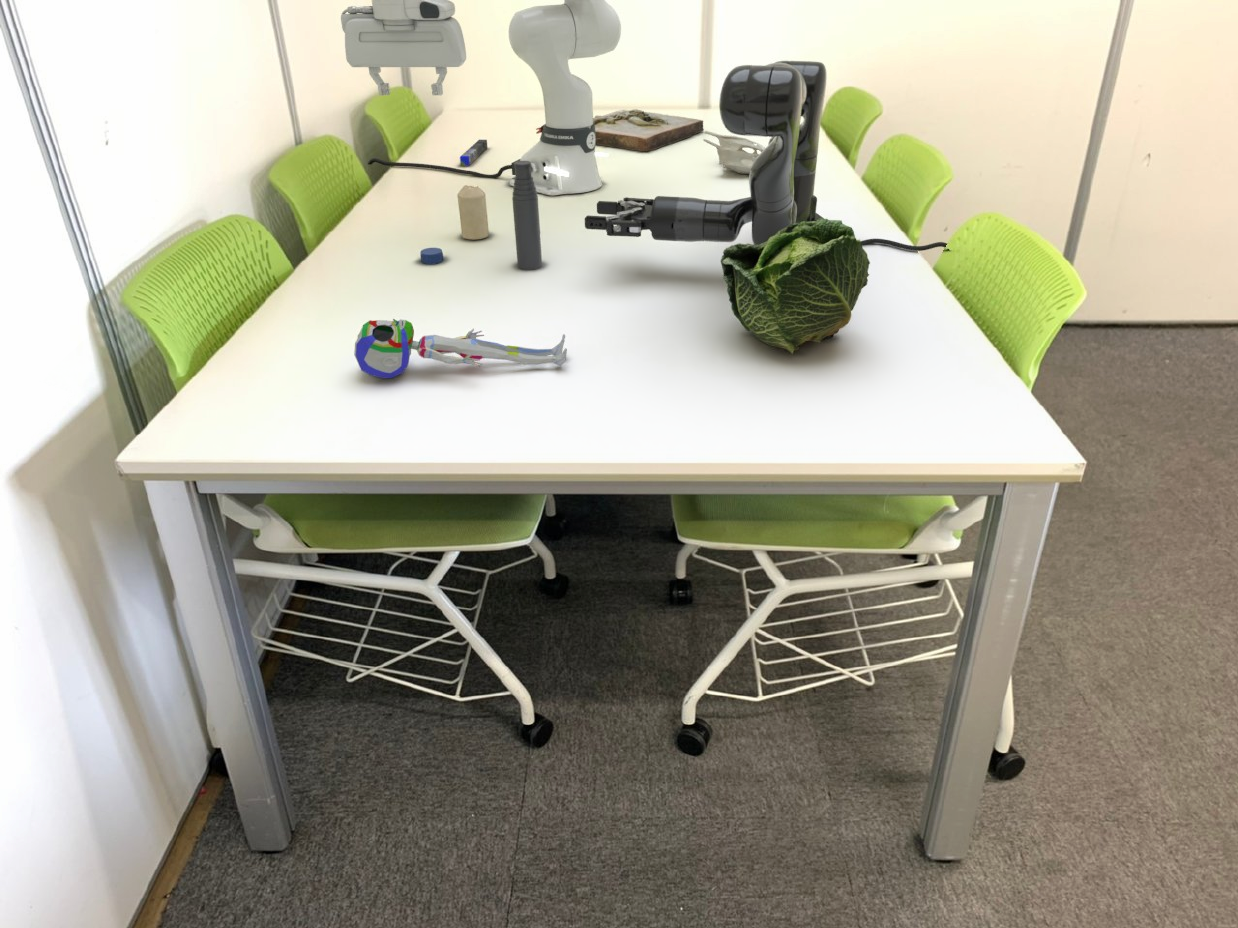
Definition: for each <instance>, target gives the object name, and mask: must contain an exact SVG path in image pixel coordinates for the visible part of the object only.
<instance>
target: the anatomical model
mask: <svg viewBox="0 0 1238 928" xmlns="http://www.w3.org/2000/svg"><path fill="white" fill-rule="evenodd" d="M704 135H708V136H712V137H714V138H717V140H718V143H719V144H717V143H714V142H713V141H710V140H709V139H706V138H703V142H705V143H707V144H709V145H710V146H712V147H715V148H716V151H717V155H718V165H722V166H723V167H724V169H726V170H727V171H731V170H732V171H734V172H736V173H738V174H743V175H744V174H745V175H748V174H750V170H751V167H752V165H753V163H754V161H755V160H756V158H757V157H758V156H759V155H760V153H761V152H762V151H763V150H764V149H765V148H766V147H764V145H762V144H760V143H758V142H756V141H753V140H750V139H748V138H744V137H741V136H737V135H726V134H719V133H716V132H712V131H708V130H705V131H704ZM744 149H752V150H753V152H752V153H750V152H748V151H746V150H744ZM758 151H760V153H758Z"/></svg>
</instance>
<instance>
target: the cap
mask: <svg viewBox="0 0 1238 928" xmlns="http://www.w3.org/2000/svg"><path fill="white" fill-rule="evenodd" d="M443 261H444V252H443V249H442V248H440V247H427V248H423V249H421V250H420V262H421V263H422V264H425V265H436V264H440V263H443Z"/></svg>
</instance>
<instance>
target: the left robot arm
mask: <svg viewBox="0 0 1238 928" xmlns="http://www.w3.org/2000/svg"><path fill="white" fill-rule="evenodd" d="M455 14H456V5H455V3H454V2H453V1H451V0H371V5H363V6H354V5H351V6H350V5H349V6H348V7H347V8H346V9H344V10H343V11H342V13H341V15H340V23H341V29H342V32H343V33H344V49H345V51H344V52H345V59H346V62H347V64H349V65H350V67H351V68H368V73H369V74H368V75H369V76H370V78H372V80H373V81H374V83H375V84H376V85H377V90H378V95H379V96H389V95H390V94H391V89H390V82H385V81H384V80H383V78H382V77H381V75H380V73H381V72H382V68H435V74H436V75H438V78H437V80H436V82H433V83H432V84H431V85H430V87H431V88H430V89H431V90H432V91H431V94H432V96H443V95H444V89H443V83H444V81H445V79H446V76H447V74H448V68H460V67H462V66H464V63H465V62H466V60H467V50H466V43H465V38H464V34H463V30H462V26H461V24H460V22H459V21H458V20H457V19H456V18H455V17H453V16H455ZM621 35H622V24H621V20H620V17H619V15H618V13H617V11H616V10H615V8H613V6H611V5H610V4H609V2H607V1H606V0H564V2H563V3H562V4H561V3H560V4H547V5H535V6H531V7H529V8H524V9H522V10H519V11H515V13H514V14H513V16H512V17H511V20H510V22H509V25H508V40H509V44H510V46H511V49H512V51H513V52H514V54H515V55H516V56H517V57H518V58H519V59H520V60H521V61H523V62H524V63H525V64H526V65H528V66H529V67H530V69H531V70H532V72H534V74H535V76H536V78H537V80H538V82H539V85H540V88H541V92H542V99H543V107H544V118H545V119H544V120H545V121H544V122H545V123H544V124H543V125H541V126H540V127H537V128H535V130H536V132H535V133H536V134H540V138H539V141H538V142H536V143H535V144H534V145H533V146H532V147H530V149H529V150H527V151H526V152H525V153H524V154H523V155H522V156H521V157H520V158H519V159H517V160H515V161H512V162H511V163H510V164H506V165H505V166H502V167H500V168H499V170H498V171H497V173H493V174H485V173H481V172H478V171H474V170H467V169H459V168H455V167H450V166H444V165H435V164H427V163H415V162H398V161H395V162H394V161H387V160H382V159H381V158H378V157H377V158H376V157H375V158H374V157H373V158H371V159H370V160H369V161H368V162H367V165H373V164H374V163H378V164H380V165H382V166H389V167H405V168H406V167H408V168H419V169H420V168H421V169H431V170H438V171H439V170H440V171H447V172H452V173H457V174H463V175H469V176H473V177H477V178H483V179H484V178H486V179H498V178H500V177H501V176H502V174H503V172H505V171H507V170H511V175H512V176H513V177H512V178H511V179H510V180H509V186H511V187H514V182H515V180H514V178H515V177H516V176H515V168H514V166H515V165H514V164H515V162H517V161H530V162H531V174H532V177H533V181H534V184H535V187H536V191H537V194H538V193H539V194H543V195H545V196H559V195H568V194H569V195H570V194H582V193H588V192H592V191H595V190H598V189H600V188H601V187H602V186H603V183H602V180H601V178H600V177H601V176H600V173H599V168H598V163H597V156H598V157H609V153H606V152H605V153H604V152H596V145H597V144H596V133H595V124H594V123H593V118H594V102H593V101H594V100H593V99H594V98H593V90H592V88H591V86H590V85H589V83H588V82H587V81H586V80H584V79H583V78H581V77H579V76H577V75H575V74H573V73H572V72H571V70H570V66H569V60H574V59H575V60H576V59H585V58H587V59H588V58H595V57H600V56H602V55H605V54H607V53H611V52H613V51H615V49H616V48H617V46H618V44H619V42H620V39H621Z"/></svg>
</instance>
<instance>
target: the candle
mask: <svg viewBox="0 0 1238 928" xmlns="http://www.w3.org/2000/svg"><path fill="white" fill-rule="evenodd" d="M456 196H457V202H458V203H457V205H458V211H459V223H460V229H461V236H462V238H463V239H465V240H482V239H485V238H488V236H490V229H489V219H488V209H487V208H488V207H487V197H486V192H485V191H484V190H483V189H482V188H481V187H479V186H473V185H467V184H465V185H464V186H462V188H461V189H460V190H459V192H458V193H457V195H456Z"/></svg>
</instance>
